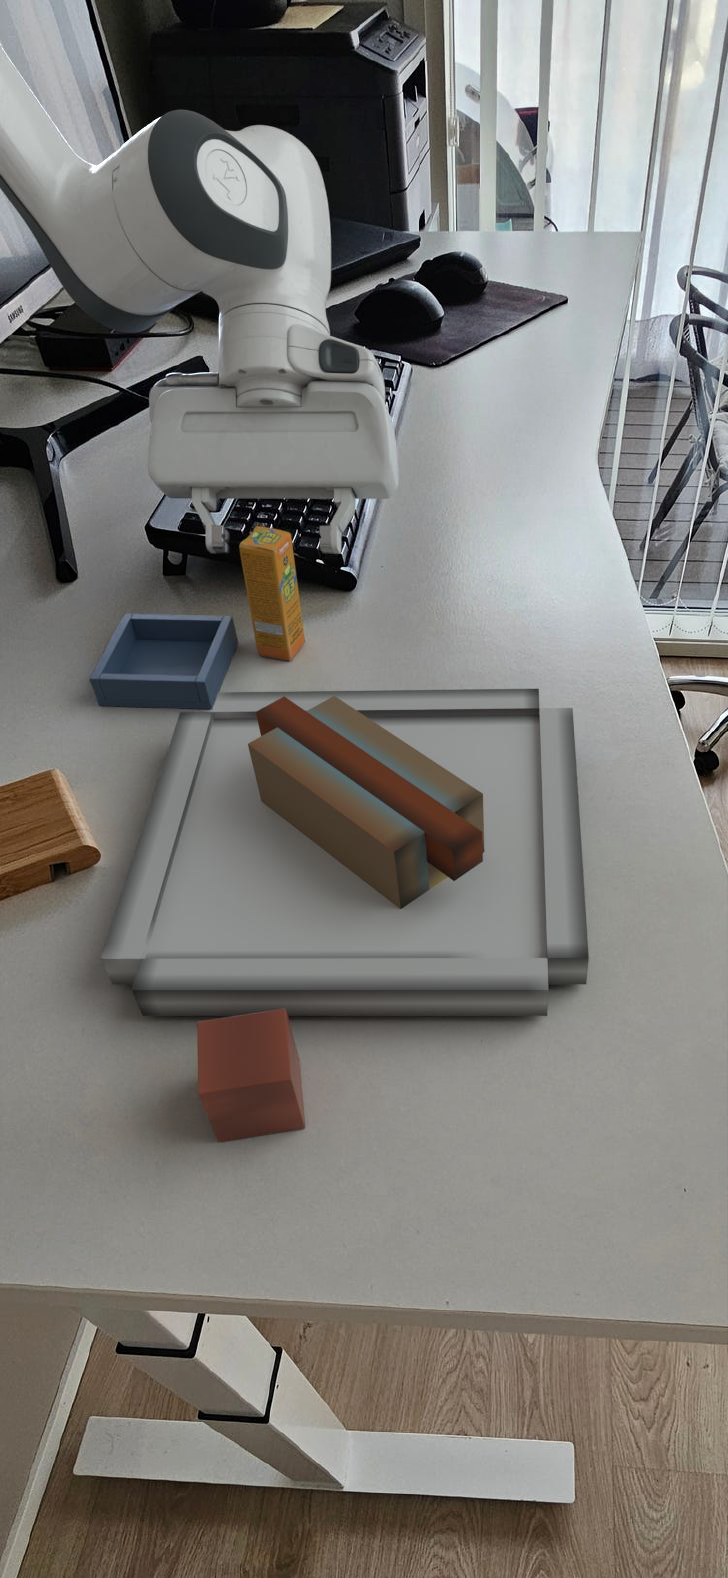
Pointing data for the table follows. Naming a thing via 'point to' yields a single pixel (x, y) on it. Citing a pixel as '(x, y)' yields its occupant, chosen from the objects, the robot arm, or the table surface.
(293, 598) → the supplement box
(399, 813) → the grey square tray
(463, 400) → the table surface
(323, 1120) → the table surface
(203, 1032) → the rust block
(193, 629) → the blue tray
